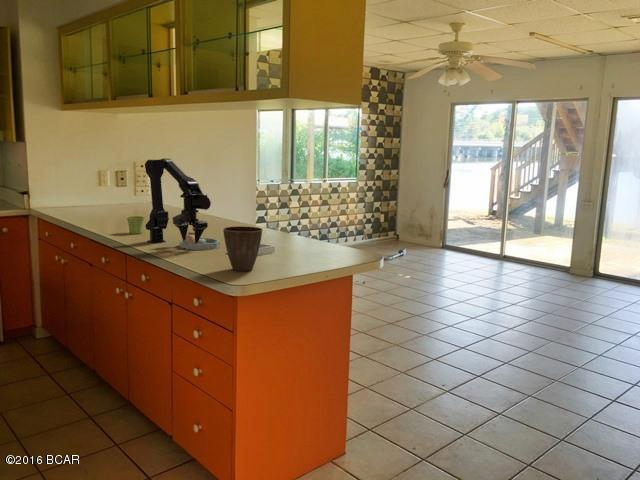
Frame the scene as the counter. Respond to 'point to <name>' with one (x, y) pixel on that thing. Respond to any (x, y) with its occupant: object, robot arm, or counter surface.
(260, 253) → the mug coaster frame
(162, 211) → the robot arm
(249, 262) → the plant pot
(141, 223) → the plant pot
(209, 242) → the groove tray
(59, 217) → the counter surface
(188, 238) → the brown egg
